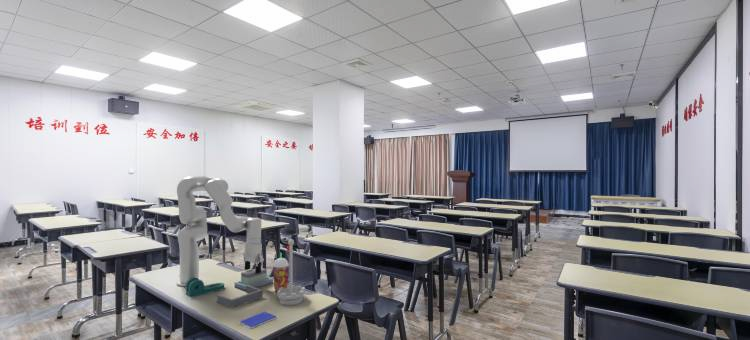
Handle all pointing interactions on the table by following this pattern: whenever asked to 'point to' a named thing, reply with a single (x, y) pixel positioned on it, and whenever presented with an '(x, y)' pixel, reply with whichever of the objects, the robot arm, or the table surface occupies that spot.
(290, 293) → the flag stand
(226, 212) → the robot arm
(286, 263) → the smoothie
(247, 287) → the bay
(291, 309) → the table surface
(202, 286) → the bracket
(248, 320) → the hard drive
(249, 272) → the gray rectangular block
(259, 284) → the tray
